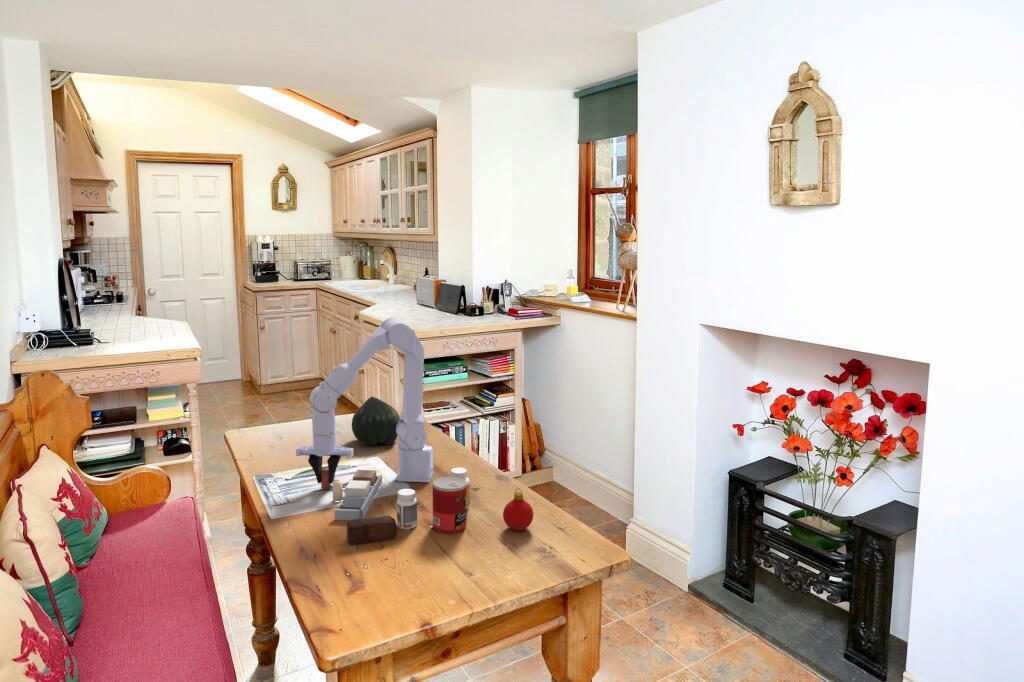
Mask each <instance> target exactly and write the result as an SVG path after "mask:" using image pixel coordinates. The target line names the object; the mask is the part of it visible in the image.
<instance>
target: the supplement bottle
mask: <svg viewBox="0 0 1024 682" xmlns="http://www.w3.org/2000/svg"><path fill="white" fill-rule="evenodd" d="M450 477H459V478H462V479H464V480H465V481H466V482H467V510H469V508H470V505H471V504H470V503H471V502H470V501H471V499H470V498H471V497H470V496H471V493H470V491H471V480H470V479H469V477H468V469H466V468H464V467H454V468H452V469H451V470H450Z"/></svg>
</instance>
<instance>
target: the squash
mask: <svg viewBox="0 0 1024 682" xmlns="http://www.w3.org/2000/svg"><path fill="white" fill-rule="evenodd" d="M399 420H400V414H399V412H398V410H397V409H395V407H393V406H392V405H390V404H388V403H387V402H385V401H383V400H381V399H379V398H377V397H374V396H370V397H369V398H368V399H366V401H364V402H363V404H362V405H361V406H359V408H358V409H357V410H356V412H354V415H353V417H352V419H351V430H352V433H353V435H354V438H355V439H357V441H358V442H360V443H361V444H362V445H364V446H372V445H377V444H378V443H381V444H384V445H390V444H393V443H394V442H395V441H396V440H397V438H398V435H397V433H396V427H397V425H398V423H399Z"/></svg>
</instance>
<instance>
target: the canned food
mask: <svg viewBox="0 0 1024 682" xmlns="http://www.w3.org/2000/svg"><path fill="white" fill-rule="evenodd" d="M467 510H468V509H467V482H466V481H465V480H464V479H462V478H459V477H451V476H442V477H438V478H435V479H434V480H433V481H432V526H433V528H434V530H435V531H437V530H438V531H437V532H439V531H440V532H439V533H442V532H444V533H443V534H456V533H455V532H457V533H460V532H463V531H464V530H465V529H466V526H467V520H468V519H467V513H468V512H467ZM463 529H464V530H463ZM459 531H460V532H459Z"/></svg>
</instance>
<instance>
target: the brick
mask: <svg viewBox="0 0 1024 682" xmlns="http://www.w3.org/2000/svg"><path fill="white" fill-rule="evenodd" d="M345 527H346V540H347V542H348V545H349V546H358V545H367V544H371V543H379V542H385V541H391V540H395V538H396V536H397V533H398V526H397V520H396V519H395V518H393V517H392V516H391V515H380V516H371V517H366V518H365V517H364V519H354V520H346V525H345Z"/></svg>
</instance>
